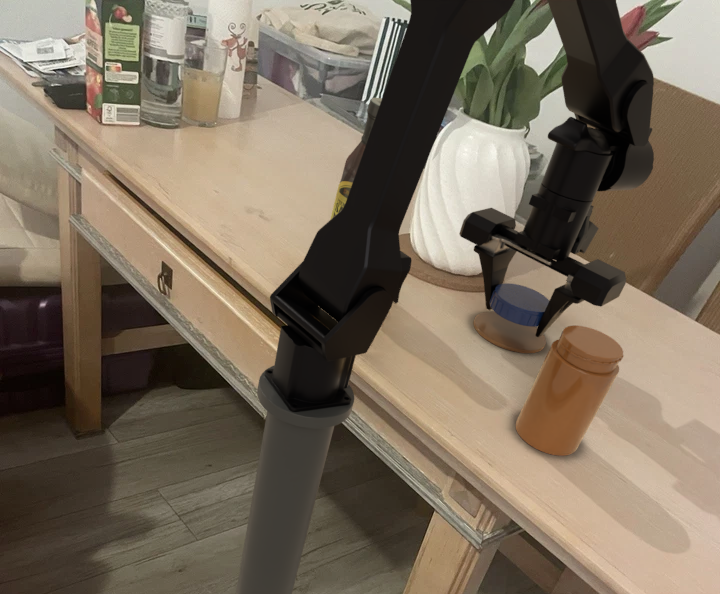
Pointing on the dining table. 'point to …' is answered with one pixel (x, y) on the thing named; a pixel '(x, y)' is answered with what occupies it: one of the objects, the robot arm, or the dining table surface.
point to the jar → (569, 390)
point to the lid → (518, 304)
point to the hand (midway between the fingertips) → (513, 322)
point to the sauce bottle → (355, 159)
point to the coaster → (508, 333)
